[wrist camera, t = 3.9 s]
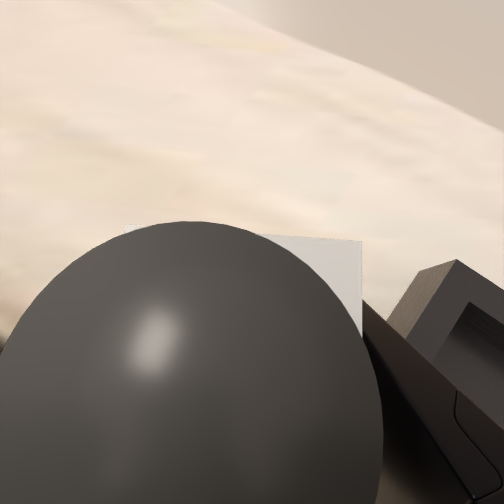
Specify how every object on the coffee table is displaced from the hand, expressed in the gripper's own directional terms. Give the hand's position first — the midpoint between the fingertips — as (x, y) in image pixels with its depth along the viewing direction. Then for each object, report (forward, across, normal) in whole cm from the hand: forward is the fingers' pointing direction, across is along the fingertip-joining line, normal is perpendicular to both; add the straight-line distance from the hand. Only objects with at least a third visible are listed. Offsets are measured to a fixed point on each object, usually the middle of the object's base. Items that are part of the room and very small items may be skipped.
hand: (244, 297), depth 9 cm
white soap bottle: (+4, 0, +6) cm, 7 cm away
